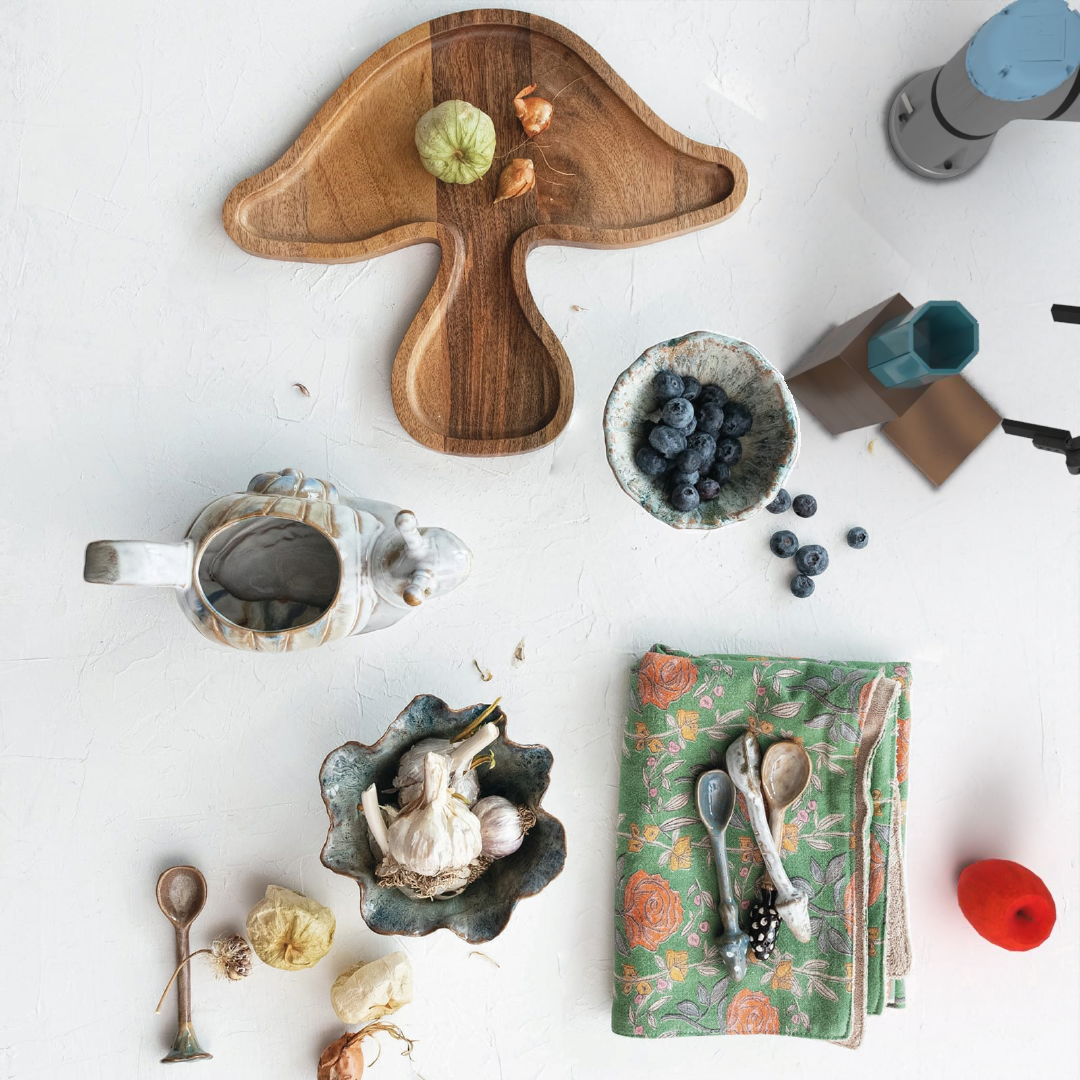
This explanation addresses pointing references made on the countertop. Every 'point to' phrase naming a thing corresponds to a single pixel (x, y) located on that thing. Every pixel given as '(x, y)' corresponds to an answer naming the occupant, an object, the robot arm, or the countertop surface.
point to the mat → (942, 427)
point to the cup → (924, 345)
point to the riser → (851, 375)
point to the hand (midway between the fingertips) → (1028, 369)
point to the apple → (1006, 904)
